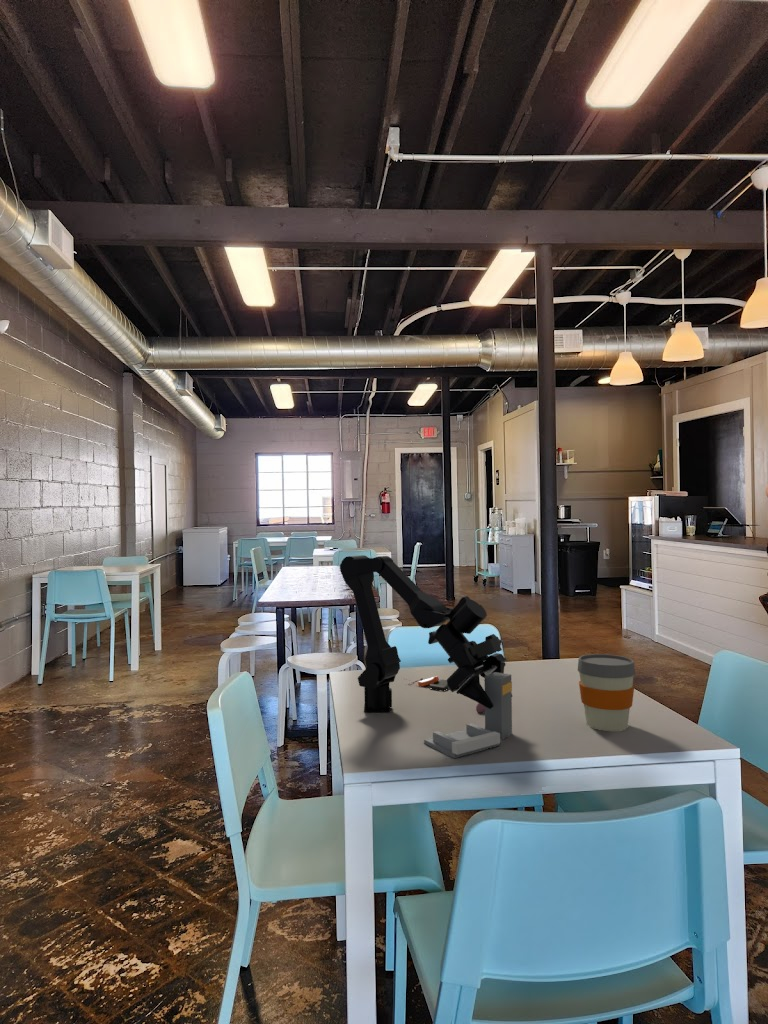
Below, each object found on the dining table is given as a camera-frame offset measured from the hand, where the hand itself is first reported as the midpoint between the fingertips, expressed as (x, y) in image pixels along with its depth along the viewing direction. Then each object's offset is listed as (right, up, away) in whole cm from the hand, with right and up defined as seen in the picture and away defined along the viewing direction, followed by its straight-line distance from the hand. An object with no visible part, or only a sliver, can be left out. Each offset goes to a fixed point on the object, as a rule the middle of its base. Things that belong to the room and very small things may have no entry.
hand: (501, 702), depth 137 cm
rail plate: (-10, -7, -6) cm, 13 cm away
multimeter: (-16, -9, +43) cm, 46 cm away
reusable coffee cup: (+25, -7, +6) cm, 27 cm away
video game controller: (+1, -8, +20) cm, 22 cm away
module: (-1, -7, 0) cm, 7 cm away
